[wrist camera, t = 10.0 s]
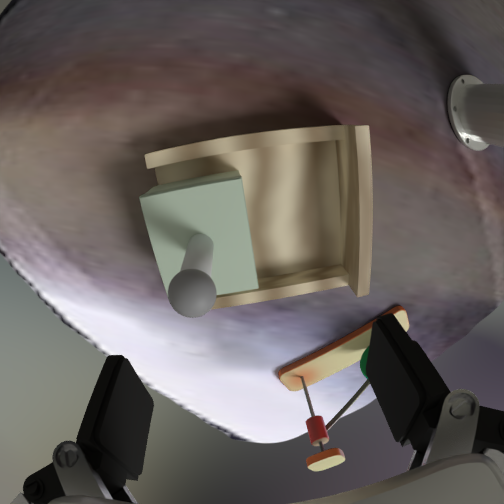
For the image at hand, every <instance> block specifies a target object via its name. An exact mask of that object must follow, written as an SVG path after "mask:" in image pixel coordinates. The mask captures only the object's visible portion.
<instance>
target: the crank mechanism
mask: <svg viewBox="0 0 504 504" xmlns="http://www.w3.org/2000/svg"><path fill="white" fill-rule="evenodd" d="M389 313H392V314H394V316H395V317H396V318H397V320H398V321H399V323H400V324H401V325H402V327H403V328H404V330H405V331H406V332H407V330H408V328H409V322H408V317H407V313H406V311H405V309H404V308H403V307H402V306H396V307H394V308H392V309H391V310H389V311H388V312H386V313H384V314H383V315H385V314H389ZM381 316H382V315H381ZM376 319H377V318H376ZM376 319H375V320H373V321H371V322H369V323H368V324H366V325H364V326H363V327H361V328H359V329H357V330H356V331H354V332H352V333H350V334H349V335H347V336H345V337H343V338H341V339H339V340H338V341H336V342H334V343H332V344H330V345H328V346H326V347H324V348H322V349H320V350H319V351H317V352H315V353H313V354H311V355H309V356H307V357H305V358H302V359H300V360H298V361H296V362H294V363H292V364H290V365H288V366H286V367H284V368H282V369H280V370H279V372H278V375H279V379H280V381H281V382H282V383H283V384H284V385H285V386H286V387H287V388H288V389H289V390H290V391H298V390H301V389H303V388H304V391H305V395H306V399H307V402H308V406H309V409H310V413H311V416H312V417H310V418H309V419H307V421H306V425H307V429H308V433H309V437H310V441H311V444H312V445H313V446H320V449H321V452H320V453H317V454H314V455H312V456H310V457H308V458H307V460H306V462H307V466H308V468H309V469H310V470H312V471H321V470H325V469H328V468H330V467H333V466H336V465H338V464H340V463H342V462H344V461H345V457H344V454H343V451H341V450H340V449H338V448H331V449H328V450H325V449H324V446H323V444H325V443H327V442H328V441H329V437H328V433H327V431H328V429H330V427H331V426H332V425H333V424H334V423H335V422H336V421H337V420H338V419H339V418H340V417H341V416H342V415H343V414H344V413H345V412H346V411H347V410H348V408H349V407H350V406H351V405H352V404H353V403H354V402H355V401H356V400H357V398H358V397H359V396H360V395H361V394H362V393H363V391H364V390H365V389H366V388H367V387H368V385H369V384H370V382H369V379H368V377H367V375H366V363H367V357H368V351H369V345H370V338H371V331H372V324H373V322H374V321H376ZM359 360H360V368H361V371H362V373H363V375H364V376H365V377H366V378H367V381H366V382H365V383H364V384H363V385H362V387H361V388H360V389H359V390H358V391H357V392H356V394H355V395H354V396H353V397H352V398H351V399H350V400H349V401H348V403H347V404H346V405H345V406H344V407H343V408H342V409H341V410H340V411H339V412H338V413H337V414H336V415H335V417H334V418H333V419H332V420H331V421H330V422H329V423H328V424H327V425H326V426H325V424H324V420H323V417H322V416H315V414H314V411H313V407H312V404H311V400H310V397H309V394H308V390H307V386H310V385H312V384H314V383H316V382H318V381H320V380H322V379H324V378H326V377H328V376H330V375H332V374H334V373H336V372H338V371H340V370H342V369H344V368H346V367H348V366H350V365H352V364H354V363H355V362H357V361H359Z"/></svg>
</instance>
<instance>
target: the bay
mask: <svg viewBox="0 0 504 504" xmlns="http://www.w3.org/2000/svg"><path fill="white" fill-rule="evenodd" d="M144 156H145V161H146V166H147V169H150V168H155V173H156V178H157V182H158V185H162V184H167V183H171V182H176V181H181V180H186V179H191V178H196V177H201V176H207V175H212V174H218V173H224V172H230V171H236V170H239V174H240V175H241V176H242V182H243V188H244V195H245V201H246V208H247V214H248V221H249V227H250V234H251V240H252V247H253V253H254V260H255V266H256V273H257V279H258V286H259V288H258V289H252V290H246V291H240V292H234V293H227V294H221V295H216V301H215V303H214V305H213V307H212V308H211V309H217V308H224V307H231V306H237V305H243V304H250V303H256V302H262V301H267V300H273V299H279V298H285V297H290V296H296V295H301V294H306V293H311V292H317V291H322V290H327V289H332V288H337V287H341V286H346V285H349V286H350V287H351V289H352V290H353V292H354V293H355V295H356V296H357V297H361V296H365V295H369V286H370V272H371V255H372V223H373V195H372V164H371V147H370V134H369V126H365V125H330V126H314V127H301V128H290V129H280V130H271V131H263V132H255V133H248V134H241V135H234V136H228V137H222V138H216V139H211V140H205V141H200V142H195V143H190V144H185V145H180V146H176V147H171V148H167V149H162V150H158V151H154V152H151V153H148V154H145V155H144Z"/></svg>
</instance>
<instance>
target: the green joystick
mask: <svg viewBox="0 0 504 504" xmlns="http://www.w3.org/2000/svg"><path fill="white" fill-rule="evenodd" d="M139 200H140V204H141V208H142V212H143V215H144V219H145V223H146V227H147V230H148V234H149V238H150V241H151V245H152V248H153V252H154V255H155V258H156V262H157V265H158V268H159V271H160V274H161V278H162V281H163V284H164V287H165V290H166V293H167V296H168V299H169V302H170V304H171V306H172V307H173V309H174V310H175V311H176V312H178V313H179V314H180V315H182V316H185V317H189V318H196V317H200V316H203V315H205V314H206V313H207V312H209V311H210V310H211V308H212V307H213V305H214V303H215V301H216V295H221V294H227V293H234V292H240V291H246V290H252V289H258V288H259V286H258V279H257V273H256V266H255V260H254V253H253V247H252V240H251V234H250V227H249V221H248V214H247V208H246V201H245V195H244V188H243V182H242V176H241V175H240V174H239V170H236V171H230V172H224V173H218V174H212V175H207V176H201V177H196V178H191V179H186V180H181V181H176V182H171V183H167V184H162V185H158V186H154V187H153V188H151V189H150V190H149V191H148V192H147V193H145V194H142V195H141V196H140V197H139Z"/></svg>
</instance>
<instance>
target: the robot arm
mask: <svg viewBox="0 0 504 504" xmlns="http://www.w3.org/2000/svg"><path fill="white" fill-rule="evenodd" d="M447 103H448V113H449V118H450V122H451V125H452V128H453V130H454V132H455V134H456V136H457V138H458V139H459V140H460V142H461V143H462V144H463V145H464V146H466V147H467V148H469V149H472V150H477V151H480V150H484V149H485V148H487V147H488V146H489V145H490V144H492V145H496V146H501V147H504V84H483V83H482V82H481V81H480V80H479V79H478V78H476V77H474V76H472V75H461V76H458V77H457V78H455V79H454V81H453V82H452V83H451V86H450V88H449V93H448V102H447ZM366 375H367V377H368V379H369V382H370V384H371V386H372V388H373V390H374V393H375V395H376V397H377V399H378V402H379V404H380V406H381V408H382V411H383V413H384V415H385V417H386V420H387V422H388V425H389V427H390V429H391V432H392V434H393V436H394V439H395V440H396V442H399V441H400V443H401V445H402V447H403V446H405V445H408V444H410V443H411V445H412V447H413V449H414V450H415V451H414V454H413V456H412V459H411V461H410V464H409V466H408V469H407V471H406V472H405V473H402V474H400V475H397V476H394V477H391V478H389V479H386V480H383V481H380V482H377V483H374V484H371V485H368V486H364V487H361V488H358V489H355V490H351V491H347V492H344V493H340V494H336V495H332V496H328V497H324V498H319V499H314V500H309V501H303V502H298V503H291V504H504V411H500V410H496V409H491V408H487V407H483V406H479V401H478V399H477V397H476V396H475V394H473V393H472V392H470V391H468V390H465V389H458V390H454V391H453V392H450V391H449V389H448V387H447V386H446V384H445V383H444V381H443V379H442V378H441V376H440V375H439V373H438V372H437V370H436V369H435V367H434V366H433V364H432V363H431V361H430V360H429V358H428V357H427V355H426V354H425V352H424V351H423V349H422V348H421V347H420V345H419V344H418V343H417V342H416V341H412V340H411V338H410V337H409V335H408V334H407V332H406V331H405V330H404V328H403V327H402V325H401V324H400V323H399V321H398V320H397V318H396V317H395V316H394V314H392V313H389V314H385V315H382V316H378V317H377V319H376V321H374V322H373V324H372V331H371V338H370V345H369V351H368V357H367V363H366ZM153 407H154V403H153V399H152V397H151V396H150V394H149V393H148V391H147V390H146V388H145V387H144V385H143V383H142V382H141V380H140V379H139V377H138V375H137V374H136V372H135V370H134V369H133V367H132V365H131V364H130V362H129V360H128V359H127V358H124V356H122V355H109V356H108V357H107V359H106V361H105V363H104V365H103V368H102V370H101V373H100V375H99V378H98V380H97V383H96V385H95V388H94V391H93V393H92V396H91V399H90V401H89V404H88V406H87V409H86V412H85V415H84V418H83V421H82V423H81V426H80V429H79V432H78V435H77V438H76V439H77V441H76V443H75V442H73V441H64V442H61V443H60V444H59V445H57V447H56V448H55V449H54V452H53V457H52V459H53V462H52V463H51V464H49V465H47V466H46V467H44V468H42V469H41V470H39V471H37V472H35V473H34V474H32V475H30V476H29V477H28V478H27V479H26V480H25V482H24V485H23V491H24V494H23V493H20V494H19V495H18V496H17V497H16V498H15V499H14V500H13V501H12V503H11V504H138V503H137V501H136V500H135V499H134V497H133V496H132V494H131V493H130V491H129V490H128V488H127V487H126V485H125V483H126V479H129V480H137V481H138V475H140V474H141V473H142V470H143V463H144V457H145V451H146V445H147V439H148V433H149V428H150V422H151V417H152V412H153Z"/></svg>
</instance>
